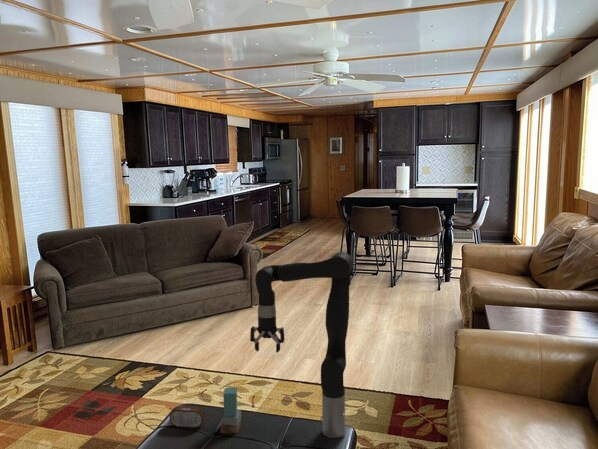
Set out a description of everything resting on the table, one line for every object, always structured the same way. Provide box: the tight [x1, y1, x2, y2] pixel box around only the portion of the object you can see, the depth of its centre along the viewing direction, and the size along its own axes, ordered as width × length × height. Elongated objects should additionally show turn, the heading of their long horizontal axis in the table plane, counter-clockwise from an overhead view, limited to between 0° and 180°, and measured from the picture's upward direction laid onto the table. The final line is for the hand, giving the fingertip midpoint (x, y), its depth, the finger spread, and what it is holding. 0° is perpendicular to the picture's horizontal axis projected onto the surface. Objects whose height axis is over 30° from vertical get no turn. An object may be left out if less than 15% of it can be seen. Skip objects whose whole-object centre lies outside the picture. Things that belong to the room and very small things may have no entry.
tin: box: [169, 405, 206, 429], centre depth 194 cm, size 15×3×8 cm, turn 84°
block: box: [223, 387, 238, 417], centre depth 192 cm, size 5×5×10 cm
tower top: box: [222, 409, 242, 426], centre depth 192 cm, size 6×6×4 cm
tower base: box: [219, 418, 242, 435], centre depth 192 cm, size 7×7×4 cm
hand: (267, 351), depth 193 cm, fingers open, 8 cm apart
